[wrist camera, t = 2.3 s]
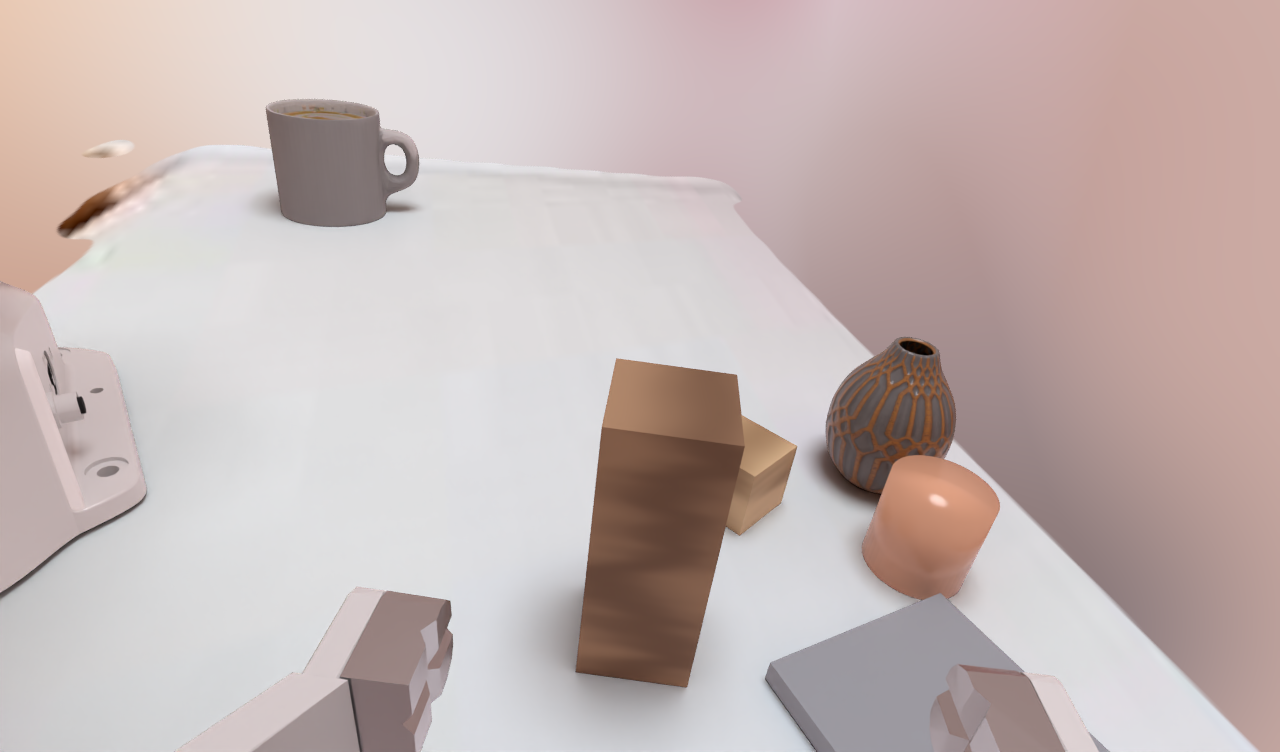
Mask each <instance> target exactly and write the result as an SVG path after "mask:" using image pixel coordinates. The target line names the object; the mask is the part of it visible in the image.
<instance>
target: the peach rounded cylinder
mask: <svg viewBox="0 0 1280 752" xmlns="http://www.w3.org/2000/svg"><path fill="white" fill-rule="evenodd" d="M999 510H1000V503H999V499H998V497H997V495H996V493H995V492H994V491H993V489H992V488H991V487H990V486H989V485H988V484H987V483H986V482H985V481H984V480H983V479H981V478H980V477H979V476H977V475H976V474H975V473H973V472H971V471H970V470H968V469H966V468H964V467H962V466H960V465H958V464H956V463H953V462H950V461H948V460H944V459H941V458H937V457H932V456H924V455H912V456H906V457H903V458H900V459H899V460H897V461H896V462H895V463H894V464H893V466H892V468H891V471H890V473H889V476H888V479H887V481H886V484H885V486H884V489H883V492H882V494H881V497H880V499H879V502H878V505H877V507H876V510H875V512H874V515H873V518H872V520H871V523H870V525H869V528H868V531H867V533H866V536H865V538H864V541H863V544H862V553H863V557H864V559H865V562H866V563H867V565H868V567H869V568H870V569H871V571H872V572H873V573H874V574H875V575H876V576H877V577H878V578H879V579H880V580H881V581H883V582H884V583H885V584H887V585H888V586H890V587H891V588H893V589H895V590H896V591H898V592H900V593H903V594H905V595H908V596H910V597H913V598H917V599H922V600H924V599H927V598H929V597H932V596H934V595H937V594H939V593H941V594H942V595H943V596H944V597H945V598H946V599H948V598H950V597H952V596H954V595H955V594H956V593H957V592H958V591H959V590H960V588H961V586H962V584H963V582H964V580H965V578H966V576H967V574H968V572H969V570H970V568H971V566H972V564H973V562H974V560H975V558H976V556H977V554H978V552H979V550H980V548H981V546H982V544H983V542H984V540H985V538H986V536H987V534H988V532H989V530H990V528H991V526H992V524H993V522H994V520H995V519H996V517H997V515H998V512H999Z"/></svg>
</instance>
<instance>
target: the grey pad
mask: <svg viewBox="0 0 1280 752" xmlns="http://www.w3.org/2000/svg"><path fill="white" fill-rule="evenodd" d="M957 664H961V665H970V666H979V667H988V668H997V669H1005V670H1014V671H1018V672H1024V671H1023V670H1022V669H1021V668H1020V667H1019V666H1018V665H1017V664H1016V663H1015V662H1014V661H1013V660H1011V659H1010V658H1009V657H1008V656H1007V655H1006V654H1005V653H1004V652H1003V651H1002V650H1001V649H1000V648H999V647H998V646H997V645H995V644H994V643H993V642H992V641H991V640H990V639H989V638H988V637H987V636H986V635H985V634H984V633H983V632H982V631H981V630H979V629H978V628H977V627H976V626H975V625H974V624H973V623H972V622H971V621H970V620H969V619H968V618H967V617H966V616H965V615H964V614H962V613H961V612H960V611H959V610H958V609H957V608H956V607H955V606H954V605H953V604H952V603H951V602H950V601H949V600H948V599H946V598H945V597H944V596H943V595H942V594H941V593H939V594H937V595H934V596H932V597H929V598H927V599H924V600H922V601H919V602H917V603H915V604H912V605H910V606H907V607H905V608H902V609H900V610H898V611H895V612H893V613H890V614H888V615H885V616H883V617H881V618H878V619H876V620H873V621H871V622H868V623H866V624H863V625H861V626H859V627H856V628H854V629H851V630H849V631H846V632H844V633H842V634H839V635H837V636H834V637H832V638H829V639H827V640H824V641H822V642H820V643H817V644H815V645H812V646H810V647H807V648H805V649H803V650H800V651H798V652H795V653H793V654H790V655H788V656H785V657H783V658H781V659H778V660H776V661H773V662H771V663H770V665H769V668H768V671H767V674H766V677H765V679H766V680H767V682H768V683H769V684H770V686H771V687H772V689H773V690H774V691H775V693H776V694H777V696H778V697H779V698H780V700H781V701H782V703H783V704H784V706H785V707H786V708H787V710H788V711H789V713H790V714H791V715H792V717H793V718H794V720H795V721H796V722H797V724H798V725H799V727H800V728H801V729H802V731H803V732H804V734H805V735H806V736H807V738H808V739H809V741H810V742H811V743H812V745H813V746H814V748H815V749H816V750H817V752H934V749H933V746H932V743H931V736H930V729H929V724H930V710H931V708H932V706H933V703H934V701H935V699H936V696H938V695H940V694H942V693H944V692H945V691H947V690H949V687H948V684H947V681H946V679H945V678H946V677H947V675H948V673H949V671H950V669H951V668H952V667H954V666H955V665H957ZM1089 734H1090V733H1089ZM1090 736H1091V738H1092V740H1093V742H1094V743H1095V745H1096V747H1097V749H1098V751H1099V752H1109V751H1108V750H1107V749H1106V748H1105V747H1104V746H1103V745H1102V744H1101V743H1100V742H1099V741H1098V740H1097V739H1096V738H1095V737H1093V736H1092V735H1091V734H1090Z"/></svg>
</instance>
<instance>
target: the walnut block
mask: <svg viewBox="0 0 1280 752" xmlns="http://www.w3.org/2000/svg"><path fill="white" fill-rule="evenodd" d="M744 448H745V443H744V434H743V425H742V416H741V407H740V398H739V388H738V379H737V375H734V374H727V373H719V372H712V371H705V370H697V369H690V368H683V367H675V366H668V365H661V364H653V363H646V362H639V361H631V360H624V359H617V358H616V362H615V367H614V372H613V377H612V381H611V386H610V391H609V396H608V400H607V405H606V410H605V415H604V419H603V424H602V431H601V440H600V450H599V459H598V468H597V478H596V487H595V496H594V506H593V515H592V524H591V534H590V543H589V553H588V562H587V571H586V581H585V590H584V599H583V609H582V618H581V627H580V637H579V646H578V656H577V665H576V672H579V673H586V674H593V675H601V676H608V677H615V678H622V679H630V680H637V681H644V682H652V683H659V684H666V685H673V686H681V687H687V685H688V681H689V677H690V672H691V668H692V664H693V660H694V656H695V652H696V648H697V643H698V639H699V635H700V631H701V627H702V623H703V618H704V614H705V610H706V606H707V602H708V598H709V593H710V589H711V585H712V581H713V577H714V573H715V569H716V564H717V560H718V556H719V552H720V548H721V544H722V539H723V535H724V531H725V527H726V523H727V519H728V514H729V510H730V506H731V502H732V498H733V494H734V490H735V485H736V481H737V477H738V473H739V469H740V465H741V460H742V456H743V452H744Z"/></svg>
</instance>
